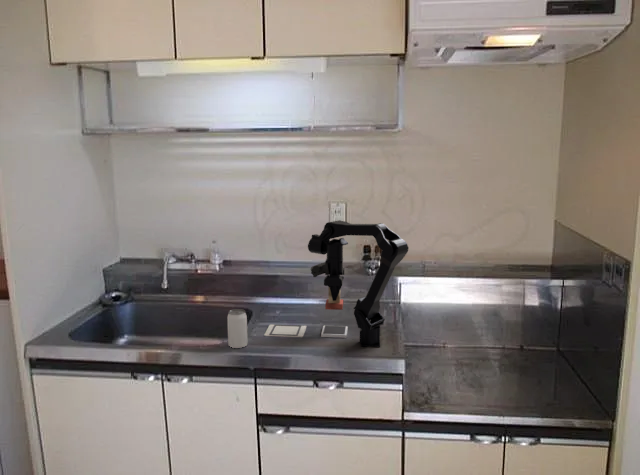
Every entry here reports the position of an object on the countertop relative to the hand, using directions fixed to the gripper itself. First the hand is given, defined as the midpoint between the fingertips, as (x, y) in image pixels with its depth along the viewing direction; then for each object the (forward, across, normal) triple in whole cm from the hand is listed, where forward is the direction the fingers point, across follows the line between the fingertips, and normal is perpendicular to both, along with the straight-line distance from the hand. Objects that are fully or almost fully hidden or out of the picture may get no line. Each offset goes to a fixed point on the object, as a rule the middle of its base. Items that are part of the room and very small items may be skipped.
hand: (334, 298), depth 184 cm
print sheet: (+13, 0, -18) cm, 22 cm away
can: (+13, +15, -32) cm, 38 cm away
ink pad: (+13, 0, 0) cm, 13 cm away
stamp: (+3, 0, 0) cm, 3 cm away
